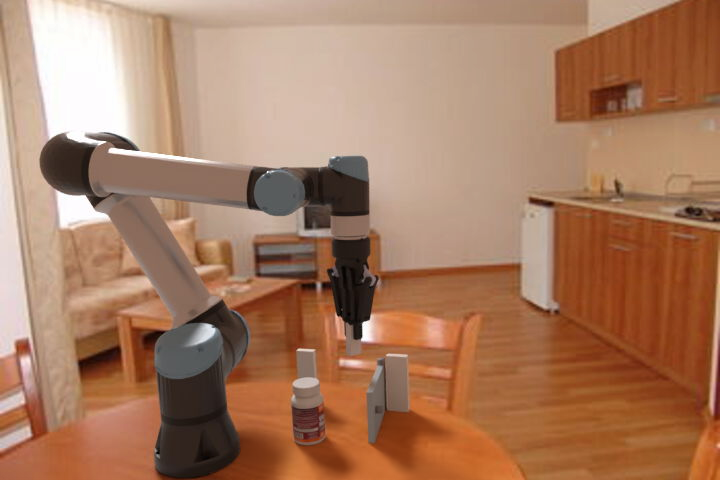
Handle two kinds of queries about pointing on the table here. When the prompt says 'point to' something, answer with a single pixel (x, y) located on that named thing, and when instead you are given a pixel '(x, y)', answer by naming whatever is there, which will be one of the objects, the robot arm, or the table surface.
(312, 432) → the pill bottle
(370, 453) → the table surface
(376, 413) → the door
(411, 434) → the table surface
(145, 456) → the table surface
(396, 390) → the wall frame
